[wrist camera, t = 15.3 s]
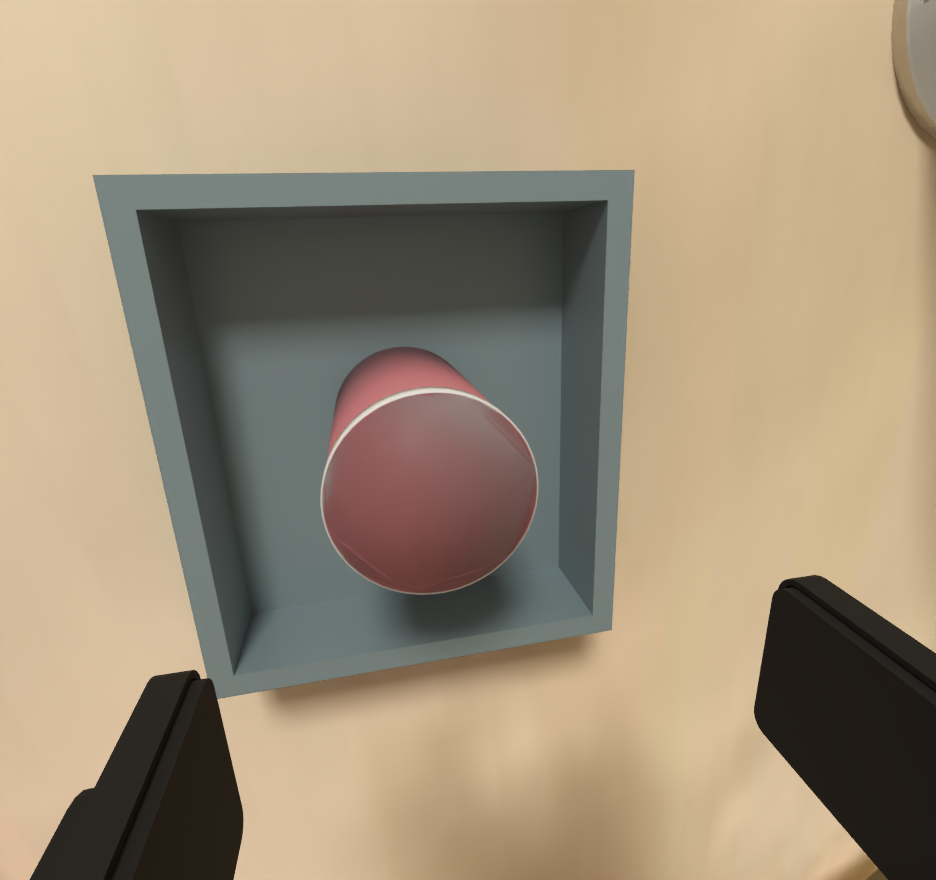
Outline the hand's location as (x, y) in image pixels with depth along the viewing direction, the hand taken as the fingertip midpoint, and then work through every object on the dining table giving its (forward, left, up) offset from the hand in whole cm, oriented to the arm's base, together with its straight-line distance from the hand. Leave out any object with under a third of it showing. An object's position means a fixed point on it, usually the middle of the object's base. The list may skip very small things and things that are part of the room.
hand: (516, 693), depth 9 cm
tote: (0, 0, -19) cm, 19 cm away
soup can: (0, 0, -18) cm, 18 cm away
